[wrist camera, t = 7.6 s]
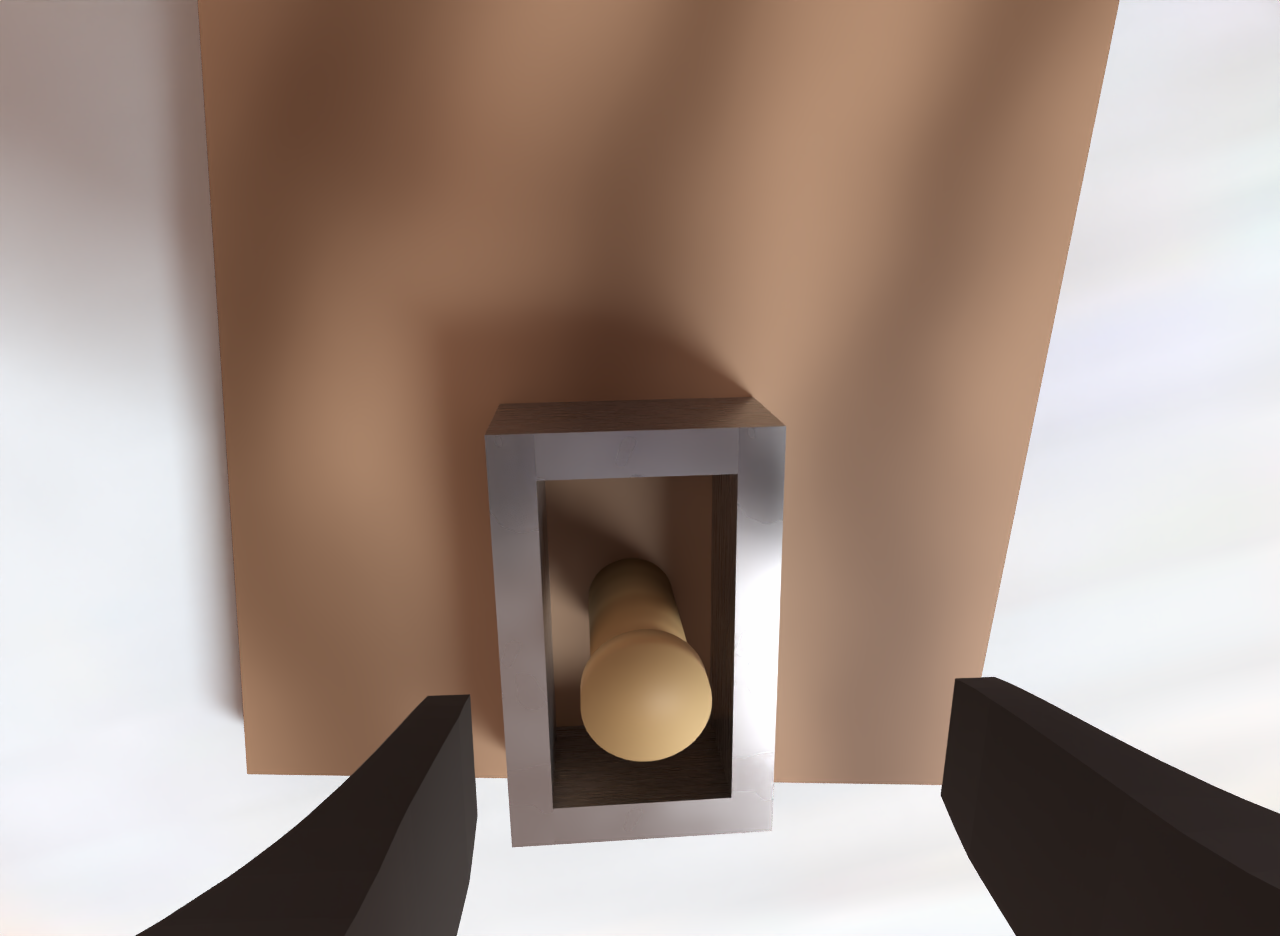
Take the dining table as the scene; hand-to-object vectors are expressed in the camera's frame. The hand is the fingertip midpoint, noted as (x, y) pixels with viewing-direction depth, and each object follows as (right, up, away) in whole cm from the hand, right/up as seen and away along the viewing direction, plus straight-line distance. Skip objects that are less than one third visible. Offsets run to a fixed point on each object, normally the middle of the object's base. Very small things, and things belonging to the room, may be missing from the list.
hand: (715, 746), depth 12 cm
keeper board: (-1, +8, +7) cm, 11 cm away
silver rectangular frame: (-1, +1, +7) cm, 7 cm away
